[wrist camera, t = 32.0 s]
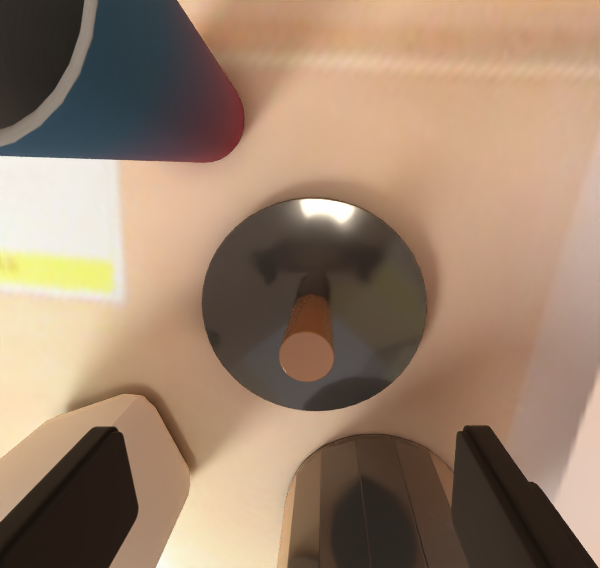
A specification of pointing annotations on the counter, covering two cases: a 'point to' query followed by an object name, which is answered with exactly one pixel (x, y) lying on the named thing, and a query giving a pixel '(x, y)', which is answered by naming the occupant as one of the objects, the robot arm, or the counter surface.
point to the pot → (370, 508)
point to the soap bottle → (143, 462)
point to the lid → (314, 304)
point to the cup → (111, 83)
